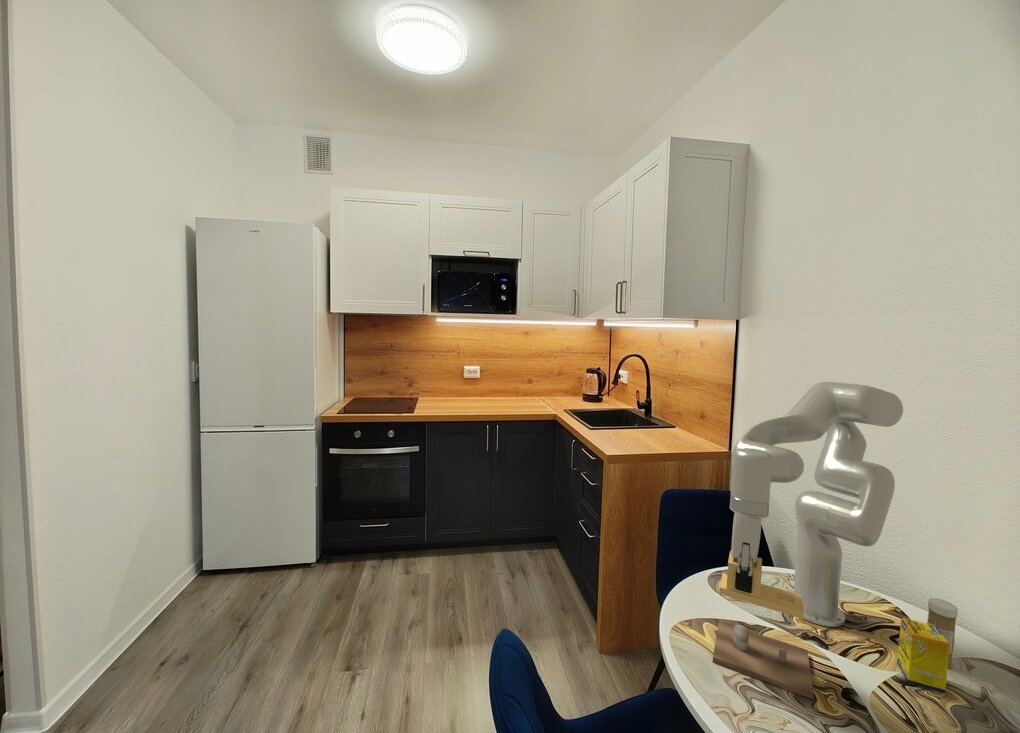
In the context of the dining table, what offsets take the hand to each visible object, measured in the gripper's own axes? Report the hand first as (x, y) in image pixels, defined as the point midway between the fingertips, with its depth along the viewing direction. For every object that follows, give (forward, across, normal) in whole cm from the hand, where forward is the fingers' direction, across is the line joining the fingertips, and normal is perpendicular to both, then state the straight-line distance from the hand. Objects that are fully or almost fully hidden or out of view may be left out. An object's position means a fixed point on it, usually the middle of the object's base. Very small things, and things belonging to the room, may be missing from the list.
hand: (743, 582), depth 95 cm
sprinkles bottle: (+16, -21, +38) cm, 47 cm away
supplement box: (+16, -12, +33) cm, 39 cm away
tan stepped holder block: (+2, 0, +3) cm, 4 cm away
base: (+16, 0, +4) cm, 17 cm away
